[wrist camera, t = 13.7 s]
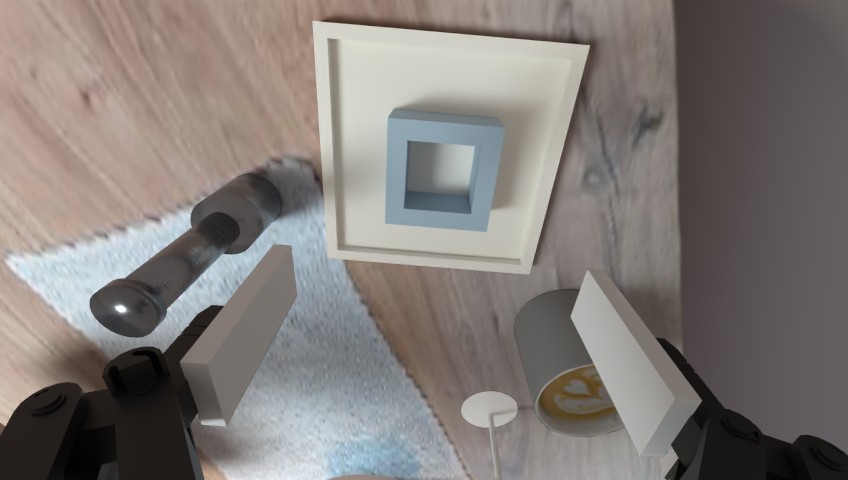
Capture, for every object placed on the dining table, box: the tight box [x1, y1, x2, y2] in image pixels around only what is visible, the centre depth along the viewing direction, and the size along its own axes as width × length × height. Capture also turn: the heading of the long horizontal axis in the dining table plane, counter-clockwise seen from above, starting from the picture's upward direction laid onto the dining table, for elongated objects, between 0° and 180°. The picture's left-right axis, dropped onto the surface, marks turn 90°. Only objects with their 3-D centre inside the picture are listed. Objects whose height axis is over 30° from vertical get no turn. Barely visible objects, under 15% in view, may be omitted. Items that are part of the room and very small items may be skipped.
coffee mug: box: [514, 290, 625, 437], centre depth 37 cm, size 13×10×10 cm
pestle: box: [90, 174, 282, 338], centre depth 27 cm, size 5×5×16 cm
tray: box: [313, 21, 590, 274], centre depth 31 cm, size 20×20×2 cm
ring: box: [385, 109, 506, 232], centre depth 30 cm, size 8×8×4 cm
